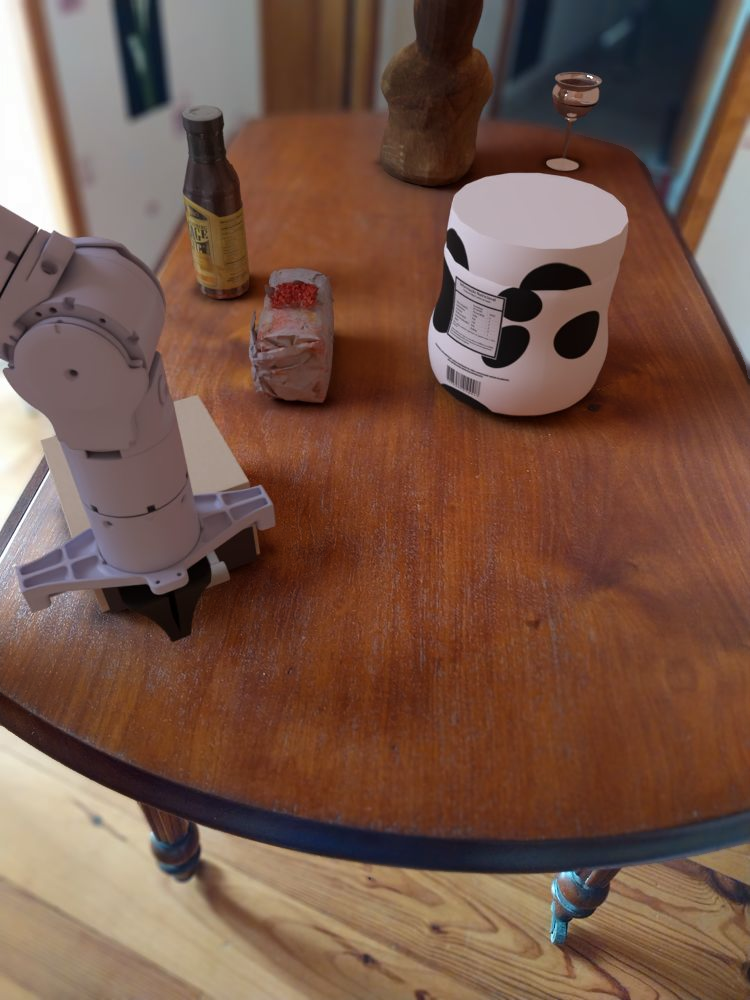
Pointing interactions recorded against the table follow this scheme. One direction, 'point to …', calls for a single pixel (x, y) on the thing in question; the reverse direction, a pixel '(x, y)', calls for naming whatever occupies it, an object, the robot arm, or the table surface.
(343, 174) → the table surface
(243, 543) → the drawer
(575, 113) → the wineglass
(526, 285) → the milk container
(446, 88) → the ceramic vessel
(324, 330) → the food item
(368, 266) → the table surface
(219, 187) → the sauce bottle
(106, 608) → the beige box-shaped shell
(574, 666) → the table surface
